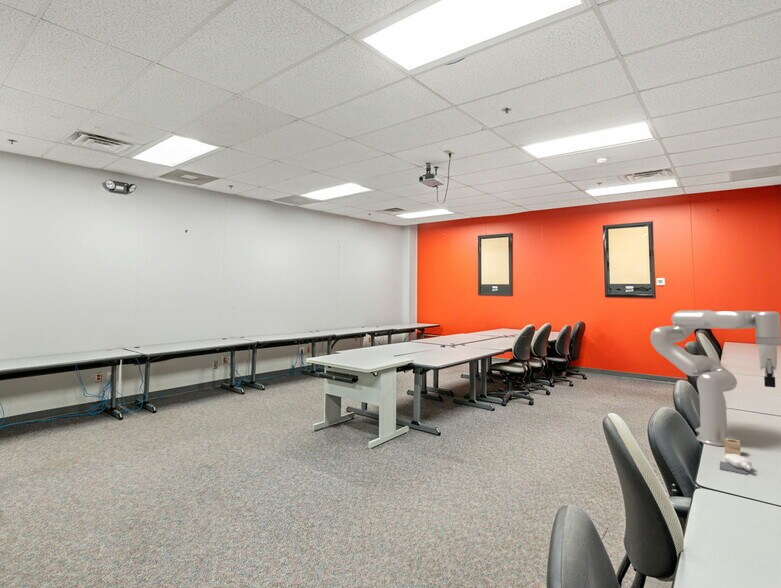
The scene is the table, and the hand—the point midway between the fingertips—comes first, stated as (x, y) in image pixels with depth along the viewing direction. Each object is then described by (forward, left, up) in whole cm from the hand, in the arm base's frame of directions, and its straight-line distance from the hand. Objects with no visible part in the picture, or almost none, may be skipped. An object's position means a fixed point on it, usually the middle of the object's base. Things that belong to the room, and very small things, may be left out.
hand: (770, 386), depth 166 cm
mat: (+8, -24, -29) cm, 39 cm away
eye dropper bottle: (+2, -19, -27) cm, 34 cm away
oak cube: (-7, -10, -29) cm, 32 cm away
